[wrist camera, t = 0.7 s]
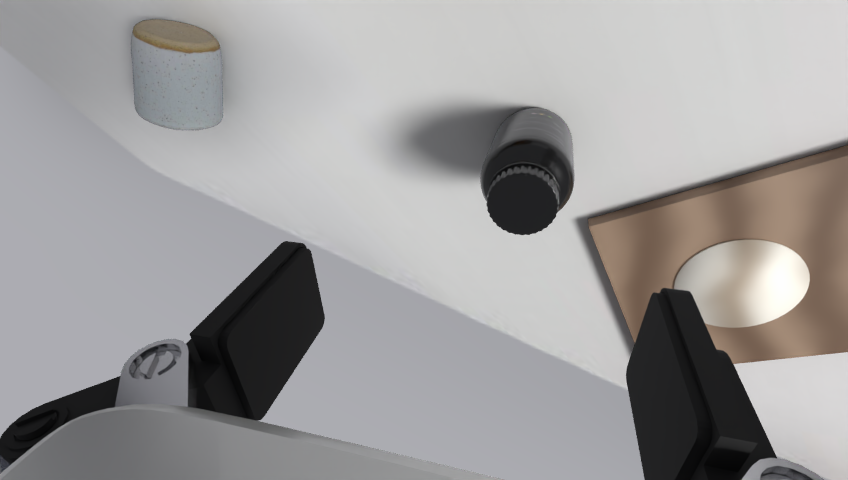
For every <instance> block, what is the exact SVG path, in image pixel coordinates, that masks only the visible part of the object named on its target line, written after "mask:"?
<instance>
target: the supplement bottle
mask: <svg viewBox="0 0 848 480" xmlns="http://www.w3.org/2000/svg"><path fill="white" fill-rule="evenodd" d="M480 182H481V189H482V193H483V196H484V198H485V200H486V201H487V207H488V212H489V213H490V217H491V218H492V219H493V222H495V223H496V224H497V226H499V227H501V228H502V229H503V230H506V231H507V232H509V233H514V234H520V235H525V234H527V235H530V234H532V233H537V232H538V231H542V230H543V229H544V228H546V227H548V225H549V224H551V223H552V221H553V219H554V218H555V217H556V213H557V212H558V211H560V210H561V209H562V208H563V207H564V205H565V204H566V203H567V201H568V200H569V198H570V196H571V193H572V191H573V186H574V160H573V143H572V136H571V133H570V130H569V128H568V126H567V124H566V123H565V122H564V121H563V119H562V118H560V117H559V116H558V115H556V114H555V113H553V112H551V111H549V110H545V109H541V108H528V109H524V110H520V111H518V112H516V113H514V114H512V115H511V116H509V117H508V118H507V119H506V120H505V121H504V122H503V123H502V124H501V126H500V127H499V129H498V131H497V133H496V135H495V137H494V140H493V142H492V145H491V147H490V150H489V152H488V155H487V157H486V159H485V162H484V164H483V168H482V172H481V178H480Z"/></svg>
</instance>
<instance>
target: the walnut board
mask: <svg viewBox="0 0 848 480" xmlns="http://www.w3.org/2000/svg"><path fill="white" fill-rule="evenodd" d="M588 225H589V229H590V232H591V234H592V237H593V239H594V242H595V244H596V247H597V249H598V252H599V254H600V257H601V259H602V262H603V265H604V267H605V270H606V272H607V275H608V277H609V280H610V282H611V285H612V287H613V290H614V292H615V295H616V297H617V300H618V302H619V305H620V307H621V310H622V312H623V315H624V318H625V320H626V323H627V325H628V328H629V330H630V333H631V335H632V338H633V340H634V343H635V342H636V339H637V336H638V333H639V330H640V327H641V324H642V321H643V318H644V315H645V312H646V309H647V306H648V303H649V300H650V297H651V295H652V293H654V292H655V293H660V291H661V289H662V288H670V289H678V290H686V291H690V292H691V294H692V295H693V298H694V300H695V302H696V305H697V307H698V309H699V311H700V314H701V316H702V318H703V320H704V323H705V325H706V327H707V329H708V332H709V334H710V336H711V339H712V341H713V343H714V345H715V348H716V349H717V350H723V351H725V352H726V353H727V354H728V355H729V357H730V359H731V361H732V363H733V364H737V363H747V362H756V361H766V360H775V359H785V358H795V357H804V356H814V355H823V354H833V353H842V352H848V145H846V146H843V147H839V148H836V149H832V150H829V151H825V152H822V153H818V154H815V155H811V156H808V157H804V158H801V159H797V160H794V161H790V162H787V163H783V164H779V165H776V166H772V167H769V168H765V169H762V170H758V171H755V172H751V173H748V174H744V175H741V176H737V177H734V178H730V179H727V180H723V181H720V182H716V183H713V184H709V185H706V186H702V187H699V188H695V189H692V190H688V191H685V192H681V193H678V194H674V195H671V196H667V197H664V198H660V199H656V200H653V201H649V202H646V203H642V204H639V205H635V206H632V207H628V208H625V209H621V210H618V211H614V212H611V213H607V214H604V215H600V216H597V217H593V218H590V219H588Z"/></svg>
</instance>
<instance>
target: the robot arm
mask: <svg viewBox="0 0 848 480" xmlns="http://www.w3.org/2000/svg"><path fill="white" fill-rule="evenodd" d="M324 319H325V317H324V312H323V306H322V302H321V297H320V292H319V288H318V283H317V278H316V273H315V268H314V263H313V259H312V254H311V251H310V250H309V249H307V248H306V246H305V245H304V244H303V243H296V242H288V241H285V242H283V243H281V244H280V245H279V246H278V247H277V249H275V250H274V251H273V252H272V254H270V255H269V256H268V257H267V258H266V259H265V260H264V261H263V262H262V263H261V264H260V265H259V266H258V267H257V268H256V269H255V270H254V271H253V272H252V273H251V274H250V275H249V276H248V277H247V278H246V279H245V280H244V281H243V282H242V283H241V284H240V285H239V286H238V287H237V288H236V289H235V290H234V291H233V292H232V293H231V294H230V295H229V296H228V297H227V298H226V299H224V301H222V302H221V304H219V305H218V306H217V307H216V308H215V309H214V310H213V311H212V312H211V313H210V314H209V315H208V316H207V317H206V318H205V319H204V320H203V321H202V322H201V323H200V324H199V325H198V326H197V327H196V328H195V329H194V330H193V331H192V332H191V333H190V336H191V338H192V339H191V340H190V341H189V342H188V343H187V344H185V343H184V342H183V341H180V340H177V339H166V340H162V341H157V342H154V343H152V344H149V345H147V346H146V347H144V348H142V349H140V350H138V351H137V352H136V353H135V354H133V355H132V356H131V357H130V358H129V359H128V360H127V362H126V363H125V364H124V366H123V369H122V371H121V376H119V377H117V378H114V379H111V380H108V381H106V382H103V383H100V384H98V385H95V386H92V387H89V388H86V389H84V390H81V391H79V392H75V393H73V394H70V395H67V396H65V397H62V398H59V399H57V400H54V401H51V402H48V403H45V404H43V405H41V406H39V407H36V408H34V409H32V410H30V411H29V412H28V413H26V414H24V415H22V416H21V417H20V418H18V419H17V420H16V421H15V422H14V423H12V424H11V425H10V426H9V428H7V430H6V431H5V432H4V433H3V434H2V436H1V438H0V480H503V479H499V478H494V477H491V476H487V475H483V474H478V473H474V472H470V471H466V470H462V469H458V468H454V467H449V466H445V465H441V464H437V463H433V462H429V461H424V460H420V459H416V458H412V457H408V456H404V455H399V454H396V453H391V452H387V451H383V450H379V449H374V448H370V447H366V446H362V445H358V444H353V443H349V442H345V441H341V440H337V439H332V438H328V437H324V436H319V435H315V434H311V433H306V432H302V431H298V430H293V429H289V428H285V427H281V426H276V425H272V424H268V423H264V422H259V421H258V420H261V419H262V418H263V417H264V416H265V414H266V413H267V411H268V410H269V408H270V407H271V405H272V404H273V402H274V400H275V399H276V398H277V396H278V394H279V393H280V391H281V390H282V388H283V387H284V385H285V384H286V382H287V381H288V379H289V378H290V376H291V375H292V373H293V372H294V370H295V368H296V367H297V365H298V364H299V362H300V361H301V359H302V358H303V356H304V355H305V353H306V352H307V350H308V349H309V347H310V345H311V344H312V343H313V341H314V340H315V338H316V336H317V335H318V333H319V332H320V330H321V329H322V327H323V324H324ZM626 380H627V386H628V391H629V397H630V402H631V407H632V413H633V418H634V424H635V429H636V435H637V439H638V445H639V450H640V456H641V462H642V467H643V472H644V478H645V480H824V479H822V478H821V477H820V476H818V475H817V474H816V473H814V472H812V471H810V470H808V469H807V468H805V467H803V466H801V465H799V464H796V463H793V462H790V461H788V460H785V459H777V457H776V455H775V453H774V450H773V448H772V446H771V444H770V442H769V440H768V438H767V435H766V433H765V431H764V429H763V427H762V425H761V423H760V420H759V418H758V416H757V414H756V412H755V410H754V408H753V406H752V403H751V401H750V399H749V397H748V395H747V393H746V391H745V388H744V386H743V384H742V382H741V380H740V378H739V376H738V373H737V371H736V369H735V367H734V365H733V363H732V361H731V359H730V357H729V355H728V354H727V353H726V352H725V351H723V350H717V349H716V348H715V345H714V343H713V341H712V339H711V336H710V334H709V332H708V329H707V327H706V325H705V323H704V320H703V318H702V316H701V314H700V311H699V309H698V307H697V305H696V302H695V300H694V298H693V295H692V294H691V292H690V291H686V290H678V289H670V288H662V289H661V291H660V293H655V292H654V293H652V295H651V297H650V300H649V303H648V306H647V309H646V312H645V315H644V318H643V321H642V324H641V327H640V330H639V333H638V336H637V339H636V342H635V345H634V348H633V351H632V354H631V357H630V360H629V363H628V366H627V371H626Z"/></svg>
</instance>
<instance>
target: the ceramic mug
mask: <svg viewBox="0 0 848 480" xmlns="http://www.w3.org/2000/svg"><path fill="white" fill-rule="evenodd" d="M131 54H132V63H133V82H134V104H135V109H136V111H137V113H138V114H139V115H140V116H141V117H142V118H143V119H145V120H147V121H149V122H151V123H153V124H156V125H159V126H162V127H166V128H170V129H175V130H201V129H206V128H210V127H213V126H215V125H217V124H219V123H220V122H221V120H222V118H223V107H222V106H223V89H222V54H221V49H220V45H219V43H218V41H217V40H216V39H215V37H214V36H213V35H211V34H210V33H209V32H207V31H205V30H203V29H200V28H198V27H196V26H192V25H189V24H185V23H181V22H175V21H170V20H159V19H152V20H144V21H141V22H139V23H137V24H136V25H135V26H134V28H133V32H132V39H131Z"/></svg>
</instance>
